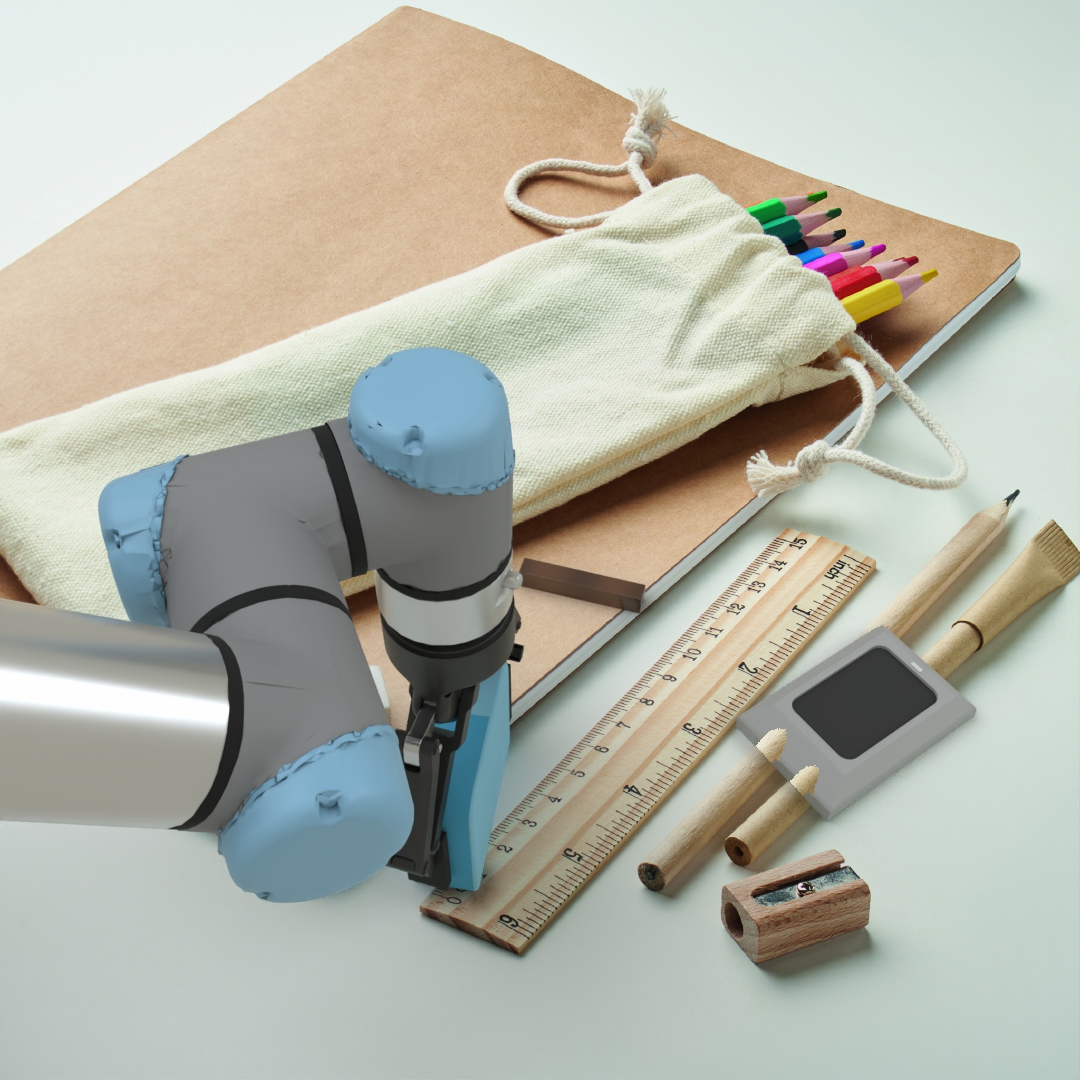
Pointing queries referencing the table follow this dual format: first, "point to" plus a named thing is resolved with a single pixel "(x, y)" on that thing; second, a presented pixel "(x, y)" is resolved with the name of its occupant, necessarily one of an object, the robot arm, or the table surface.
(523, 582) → the bar
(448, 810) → the light blue thick block
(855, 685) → the grey badge holder
